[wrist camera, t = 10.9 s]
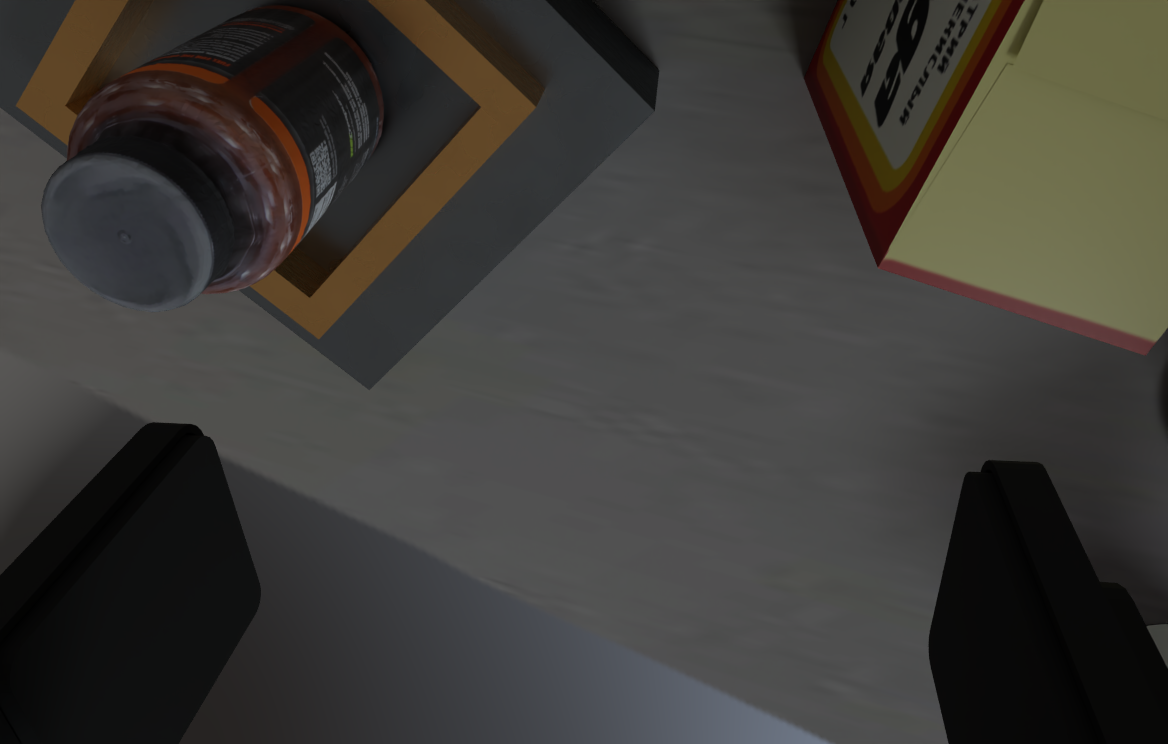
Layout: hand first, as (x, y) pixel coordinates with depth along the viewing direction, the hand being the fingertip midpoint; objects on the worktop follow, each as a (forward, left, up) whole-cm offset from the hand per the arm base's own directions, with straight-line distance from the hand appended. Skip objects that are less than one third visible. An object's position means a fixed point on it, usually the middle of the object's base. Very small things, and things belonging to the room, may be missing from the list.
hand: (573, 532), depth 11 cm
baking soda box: (-6, -9, -26) cm, 28 cm away
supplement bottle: (+8, +8, -21) cm, 24 cm away
